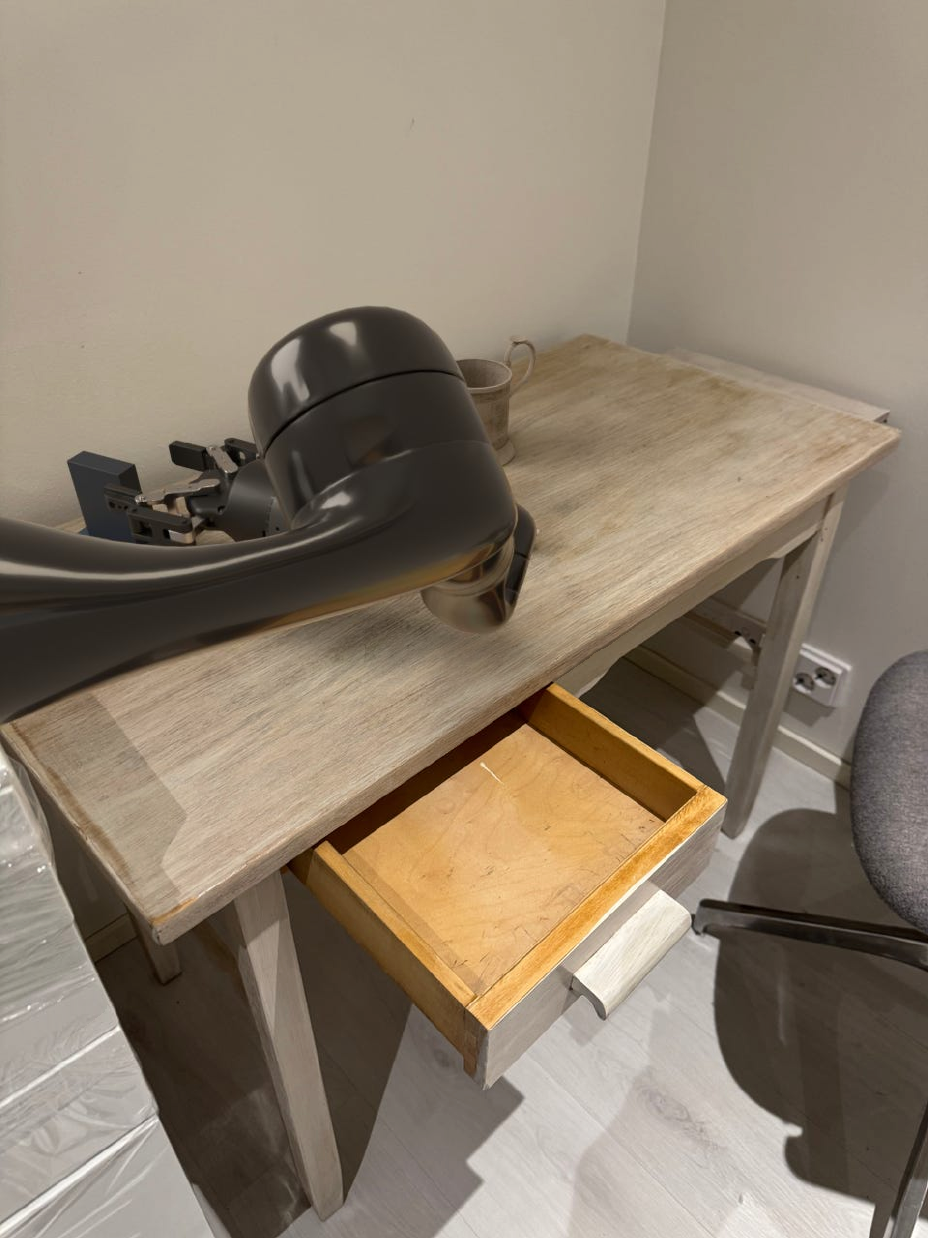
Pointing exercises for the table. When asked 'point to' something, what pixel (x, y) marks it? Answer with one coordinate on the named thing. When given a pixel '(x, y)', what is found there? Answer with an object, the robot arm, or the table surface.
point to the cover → (89, 483)
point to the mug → (495, 393)
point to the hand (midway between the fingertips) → (141, 472)
